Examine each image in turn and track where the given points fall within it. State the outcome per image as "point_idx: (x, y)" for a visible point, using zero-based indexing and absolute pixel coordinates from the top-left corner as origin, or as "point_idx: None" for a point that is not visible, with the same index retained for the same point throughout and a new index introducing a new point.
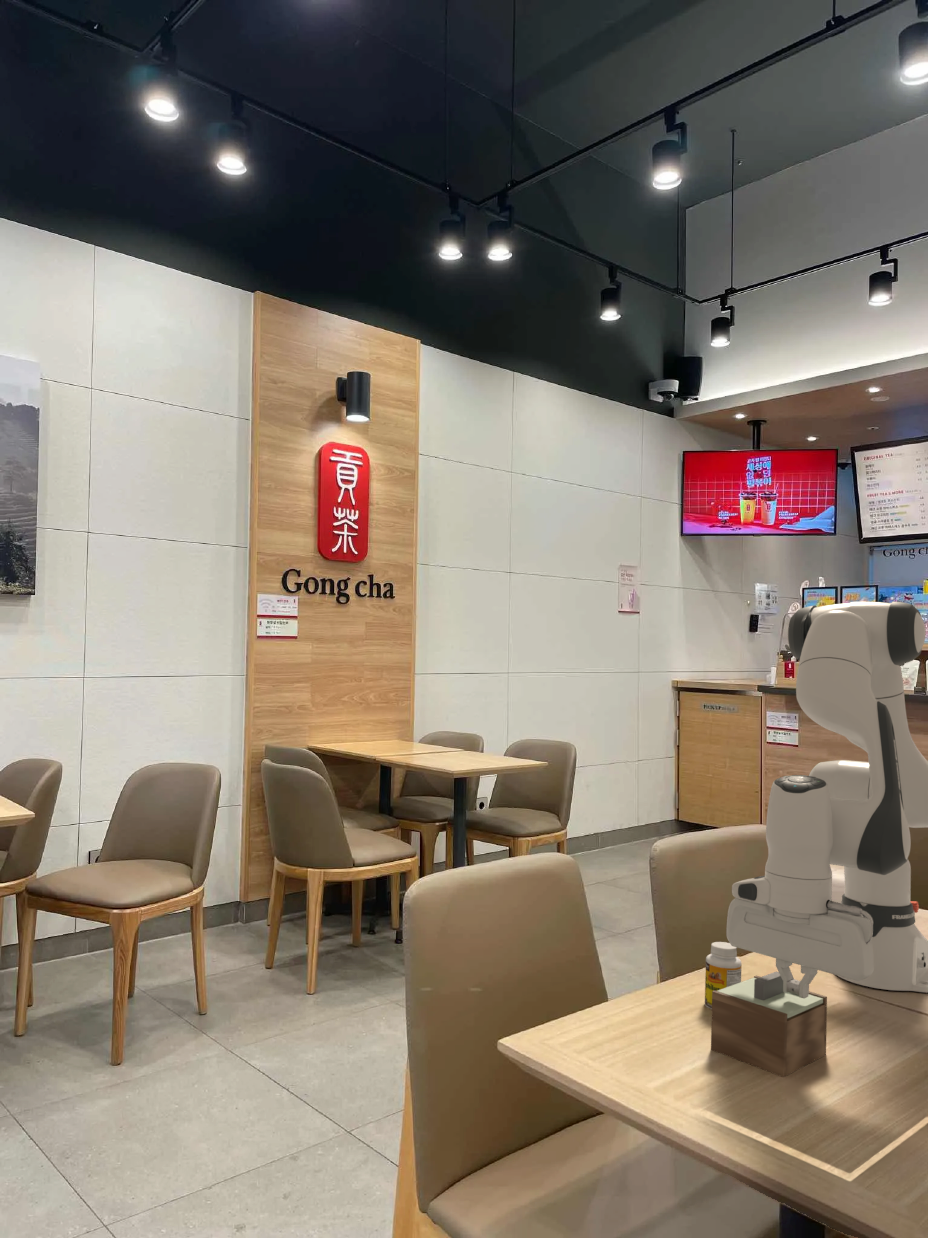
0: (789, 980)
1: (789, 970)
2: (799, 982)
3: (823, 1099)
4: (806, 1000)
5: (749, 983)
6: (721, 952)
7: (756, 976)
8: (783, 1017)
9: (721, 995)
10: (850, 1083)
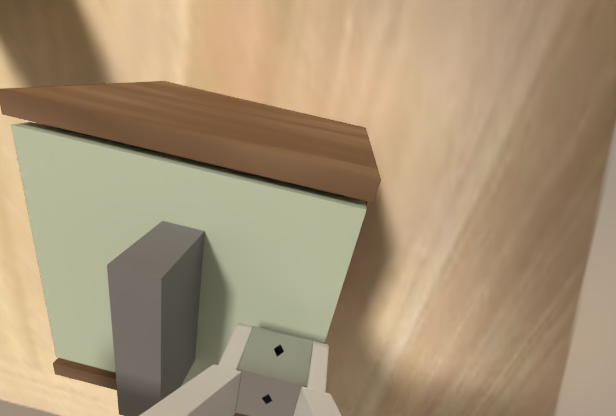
0: (235, 401)
1: (201, 409)
2: (282, 400)
3: (396, 327)
4: (311, 279)
5: (57, 221)
6: None
7: (7, 105)
8: None
9: (89, 380)
10: (438, 233)
